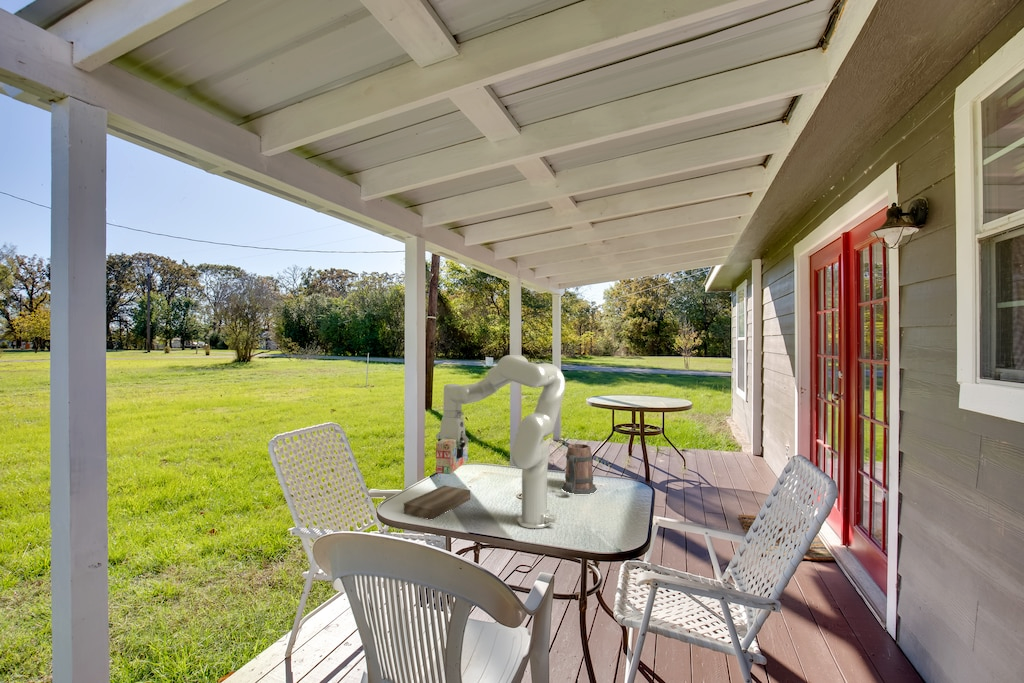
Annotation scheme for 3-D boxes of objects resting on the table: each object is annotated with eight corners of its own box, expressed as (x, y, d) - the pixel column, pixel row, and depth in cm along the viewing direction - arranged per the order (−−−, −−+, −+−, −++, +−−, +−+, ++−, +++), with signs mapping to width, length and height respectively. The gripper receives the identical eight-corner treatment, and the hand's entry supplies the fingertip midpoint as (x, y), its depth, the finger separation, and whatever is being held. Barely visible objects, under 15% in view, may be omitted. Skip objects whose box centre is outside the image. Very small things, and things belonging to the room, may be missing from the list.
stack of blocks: (454, 459, 202) (454, 431, 202) (468, 460, 201) (468, 432, 201) (435, 473, 182) (435, 442, 182) (450, 474, 180) (450, 443, 180)
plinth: (470, 499, 197) (470, 490, 197) (431, 520, 174) (431, 509, 174) (444, 494, 204) (444, 485, 204) (403, 513, 181) (403, 503, 181)
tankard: (567, 481, 223) (567, 440, 223) (601, 486, 215) (602, 444, 215) (550, 496, 202) (550, 450, 202) (587, 502, 194) (587, 455, 194)
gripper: (474, 414, 189) (474, 457, 189) (441, 410, 198) (441, 451, 198) (464, 417, 183) (463, 461, 183) (430, 413, 191) (429, 455, 192)
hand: (451, 456), depth 190 cm, fingers closed on stack of blocks, 7 cm apart
